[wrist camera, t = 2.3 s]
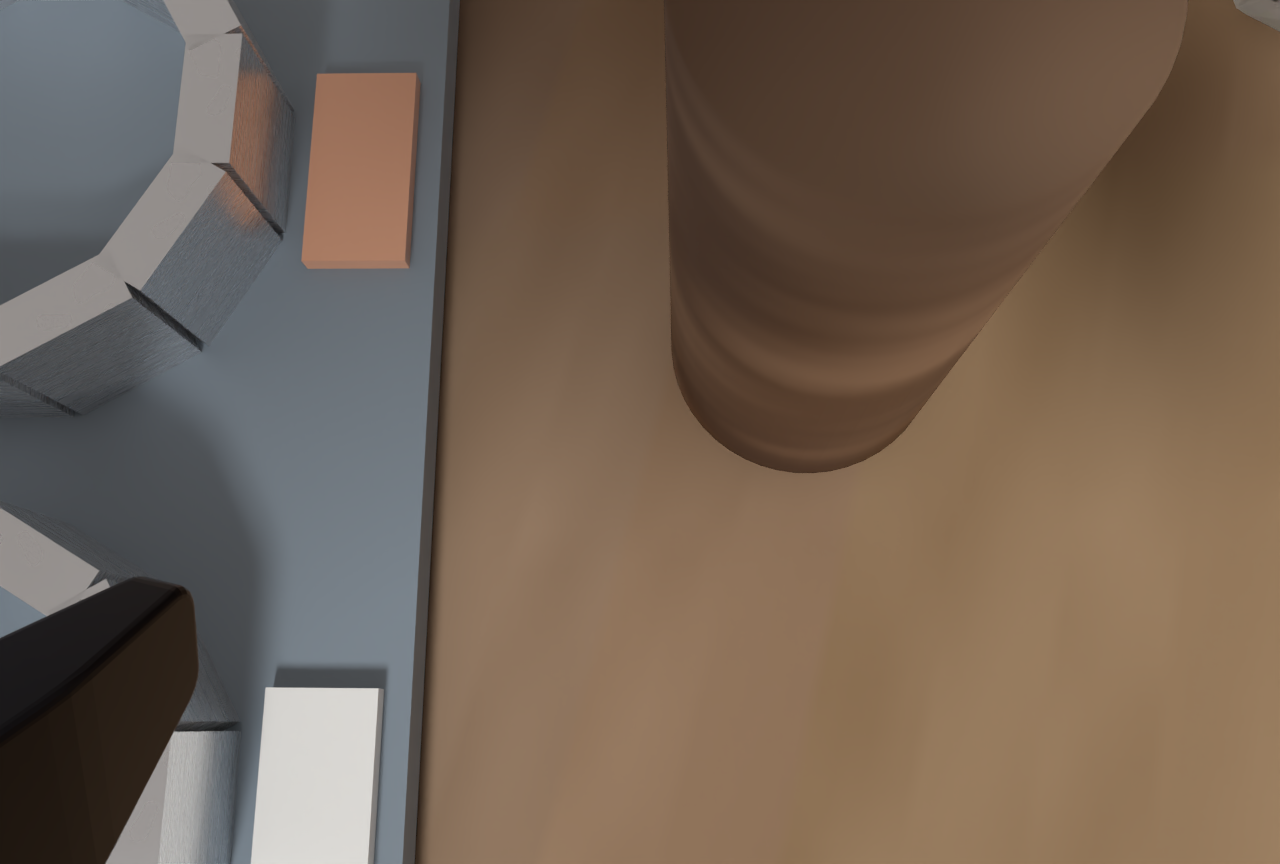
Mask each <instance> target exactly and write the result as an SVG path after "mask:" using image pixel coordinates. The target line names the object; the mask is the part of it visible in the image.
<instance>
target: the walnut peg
mask: <svg viewBox="0 0 1280 864" xmlns="http://www.w3.org/2000/svg"><path fill="white" fill-rule="evenodd" d="M1187 9H1188V0H664V14H665V61H666V108H667V155H668V202H669V249H670V296H671V343H672V358H673V366H674V371H675V375H676V379H677V382H678V385H679V388H680V390H681V392H682V395H683V397H684V400H685V401H686V403H687V405H688V406H689V408H690V410H691V412H692V413H693V415H694V416H695V417H696V419H697V420H698V421H699V422H700V424H701V425H702V426H703V428H704V429H705V430H706V431H708V432H709V433H710V434H711V435H712V436H713V437H714V438H715V439H716V440H717V441H718V442H720V443H721V444H722V445H723V446H725V447H726V448H727V449H729V450H730V451H732V452H734V453H735V454H737V455H739V456H741V457H742V458H744V459H746V460H749V461H751V462H754V463H756V464H758V465H761V466H764V467H768V468H772V469H775V470H780V471H787V472H794V473H817V472H826V471H833V470H837V469H841V468H845V467H848V466H851V465H853V464H856V463H859V462H861V461H864V460H866V459H867V458H869V457H871V456H873V455H875V454H876V453H878V452H880V451H881V450H882V449H884V448H885V447H887V446H888V445H889V444H891V443H892V442H893V441H894V440H895V439H896V438H897V437H898V436H899V435H900V434H901V433H902V432H903V431H904V430H905V429H906V428H907V427H908V425H909V424H910V423H911V421H912V420H913V419H914V418H915V416H916V415H917V414H918V412H919V411H920V410H921V408H922V407H923V406H924V404H925V403H926V402H927V400H928V399H929V398H930V396H931V395H932V394H933V393H934V391H935V390H936V389H937V387H938V386H939V385H940V383H941V382H942V381H943V379H944V378H945V377H946V375H947V374H948V373H949V371H950V370H951V369H952V367H953V366H954V365H955V364H956V362H957V361H958V360H959V358H960V357H961V356H962V354H963V353H964V352H965V350H966V349H967V348H968V346H969V345H970V344H971V342H972V341H973V340H974V339H975V337H976V336H977V335H978V333H979V332H980V331H981V329H982V328H983V327H984V325H985V324H986V323H987V321H988V320H989V319H990V317H991V316H992V315H993V313H994V312H995V311H996V310H997V308H998V307H999V306H1000V304H1001V303H1002V302H1003V300H1004V299H1005V298H1006V296H1007V295H1008V294H1009V292H1010V291H1011V290H1012V288H1013V287H1014V286H1015V284H1016V283H1017V282H1018V281H1019V279H1020V278H1021V277H1022V275H1023V274H1024V273H1025V271H1026V270H1027V269H1028V267H1029V266H1030V265H1031V263H1032V262H1033V261H1034V259H1035V258H1036V257H1037V256H1038V254H1039V253H1040V252H1041V250H1042V249H1043V248H1044V246H1045V245H1046V244H1047V242H1048V241H1049V240H1050V238H1051V237H1052V236H1053V234H1054V233H1055V232H1056V230H1057V229H1058V228H1059V227H1060V225H1061V224H1062V223H1063V221H1064V220H1065V219H1066V217H1067V216H1068V215H1069V213H1070V212H1071V211H1072V209H1073V208H1074V207H1075V205H1076V204H1077V203H1078V201H1079V200H1080V199H1081V198H1082V196H1083V195H1084V194H1085V192H1086V191H1087V190H1088V188H1089V187H1090V186H1091V184H1092V183H1093V182H1094V180H1095V179H1096V178H1097V176H1098V175H1099V174H1100V173H1101V171H1102V170H1103V169H1104V167H1105V166H1106V165H1107V163H1108V162H1109V161H1110V159H1111V158H1112V157H1113V155H1114V154H1115V153H1116V151H1117V150H1118V149H1119V147H1120V146H1121V145H1122V144H1123V142H1124V141H1125V140H1126V138H1127V137H1128V136H1129V134H1130V133H1131V132H1132V130H1133V129H1134V128H1135V126H1136V125H1137V124H1138V122H1139V121H1140V120H1141V118H1142V117H1143V116H1144V115H1145V113H1146V112H1147V111H1148V109H1149V108H1150V107H1151V105H1152V104H1153V103H1154V101H1155V100H1156V98H1157V96H1158V94H1159V93H1160V91H1161V89H1162V87H1163V85H1164V84H1165V82H1166V80H1167V78H1168V77H1169V75H1170V73H1171V70H1172V67H1173V65H1174V62H1175V59H1176V57H1177V54H1178V51H1179V49H1180V46H1181V42H1182V37H1183V33H1184V28H1185V23H1186V18H1187Z"/></svg>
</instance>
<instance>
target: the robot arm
mask: <svg viewBox="0 0 1280 864" xmlns="http://www.w3.org/2000/svg"><path fill="white" fill-rule="evenodd" d="M198 672H199V659H198V645H197V632H196V618H195V605H194V600H193V596H192V594H191V592H190V591H189V590H188V589H187V588H185V587H183V586H182V585H178V584H174V583H170V582H166V581H162V580H158V579H153V578H149V577H145V576H136V577H132V578H129V579H126V580H124V581H122V582H119V583H117V584H115V585H113V586H111V587H109V588H107V589H104V590H102V591H100V592H98V593H96V594H94V595H91V596H89V597H87V598H85V599H83V600H81V601H78V602H76V603H74V604H72V605H70V606H68V607H66V608H63V609H61V610H59V611H57V612H55V613H53V614H50V615H48V616H46V617H44V618H42V619H40V620H37V621H35V622H33V623H31V624H29V625H27V626H25V627H22V628H20V629H18V630H16V631H14V632H12V633H9V634H7V635H5V636H3V637H1V638H0V864H106V862H107V860H108V858H109V857H110V855H111V853H112V851H113V849H114V847H115V846H116V844H117V842H118V840H119V838H120V836H121V834H122V832H123V830H124V828H125V826H126V824H127V822H128V820H129V818H130V816H131V815H132V813H133V811H134V809H135V807H136V805H137V803H138V801H139V799H140V797H141V795H142V793H143V791H144V789H145V787H146V785H147V783H148V781H149V779H150V778H151V776H152V774H153V772H154V770H155V768H156V766H157V764H158V762H159V760H160V758H161V756H162V754H163V752H164V750H165V748H166V746H167V744H168V743H169V741H170V739H171V737H172V735H173V733H174V731H175V729H176V727H177V725H178V723H179V721H180V719H181V717H182V715H183V713H184V711H185V709H186V708H187V706H188V704H189V702H190V700H191V697H192V695H193V692H194V690H195V687H196V683H197V679H198Z"/></svg>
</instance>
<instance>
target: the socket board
mask: <svg viewBox="0 0 1280 864" xmlns="http://www.w3.org/2000/svg"><path fill="white" fill-rule="evenodd" d="M459 8H460V0H0V638H1V637H3V636H5V635H7V634H9V633H12V632H14V631H16V630H18V629H20V628H22V627H25V626H27V625H29V624H31V623H33V622H35V621H37V620H40V619H42V618H44V617H46V616H48V615H50V614H53V613H55V612H57V611H59V610H61V609H63V608H66V607H68V606H70V605H72V604H74V603H76V602H78V601H81V600H83V599H85V598H87V597H89V596H91V595H94V594H96V593H98V592H100V591H102V590H104V589H107V588H109V587H111V586H113V585H115V584H117V583H119V582H122V581H124V580H126V579H129V578H132V577H136V576H145V577H149V578H153V579H158V580H162V581H166V582H170V583H174V584H178V585H182V586H183V587H185V588H187V589H188V590H189V591H190V592H191V594H192V596H193V600H194V605H195V618H196V632H197V645H198V659H199V672H198V679H197V683H196V687H195V690H194V692H193V695H192V697H191V700H190V702H189V704H188V706H187V708H186V709H185V711H184V713H183V715H182V717H181V719H180V721H179V723H178V725H177V727H176V729H175V731H174V733H173V735H172V737H171V739H170V741H169V743H168V744H167V746H166V748H165V750H164V752H163V754H162V756H161V758H160V760H159V762H158V764H157V766H156V768H155V770H154V772H153V774H152V776H151V778H150V779H149V781H148V783H147V785H146V787H145V789H144V791H143V793H142V795H141V797H140V799H139V801H138V803H137V805H136V807H135V809H134V811H133V813H132V815H131V816H130V818H129V820H128V822H127V824H126V826H125V828H124V830H123V832H122V834H121V836H120V838H119V840H118V842H117V844H116V846H115V847H114V849H113V851H112V853H111V855H110V857H109V858H108V860H107V862H106V864H415V848H416V829H417V809H418V790H419V771H420V752H421V733H422V714H423V695H424V676H425V657H426V638H427V619H428V600H429V581H430V561H431V542H432V523H433V504H434V485H435V466H436V447H437V428H438V409H439V390H440V371H441V352H442V333H443V314H444V294H445V275H446V256H447V237H448V218H449V199H450V180H451V161H452V142H453V123H454V104H455V85H456V66H457V46H458V27H459Z"/></svg>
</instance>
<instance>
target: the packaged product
mask: <svg viewBox="0 0 1280 864" xmlns="http://www.w3.org/2000/svg"><path fill="white" fill-rule="evenodd" d="M1233 1H1234V3H1235V6H1236V8H1237V9H1239V10H1240V11H1242V12H1243V13H1245V14H1246V15H1248V16H1250V17H1252V18H1254V19H1256V20H1258V21H1260V22H1262V23H1264V24H1266V25H1268V26H1270V27H1272V28H1274V29H1276V30H1278V31H1279V32H1280V0H1233Z"/></svg>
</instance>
